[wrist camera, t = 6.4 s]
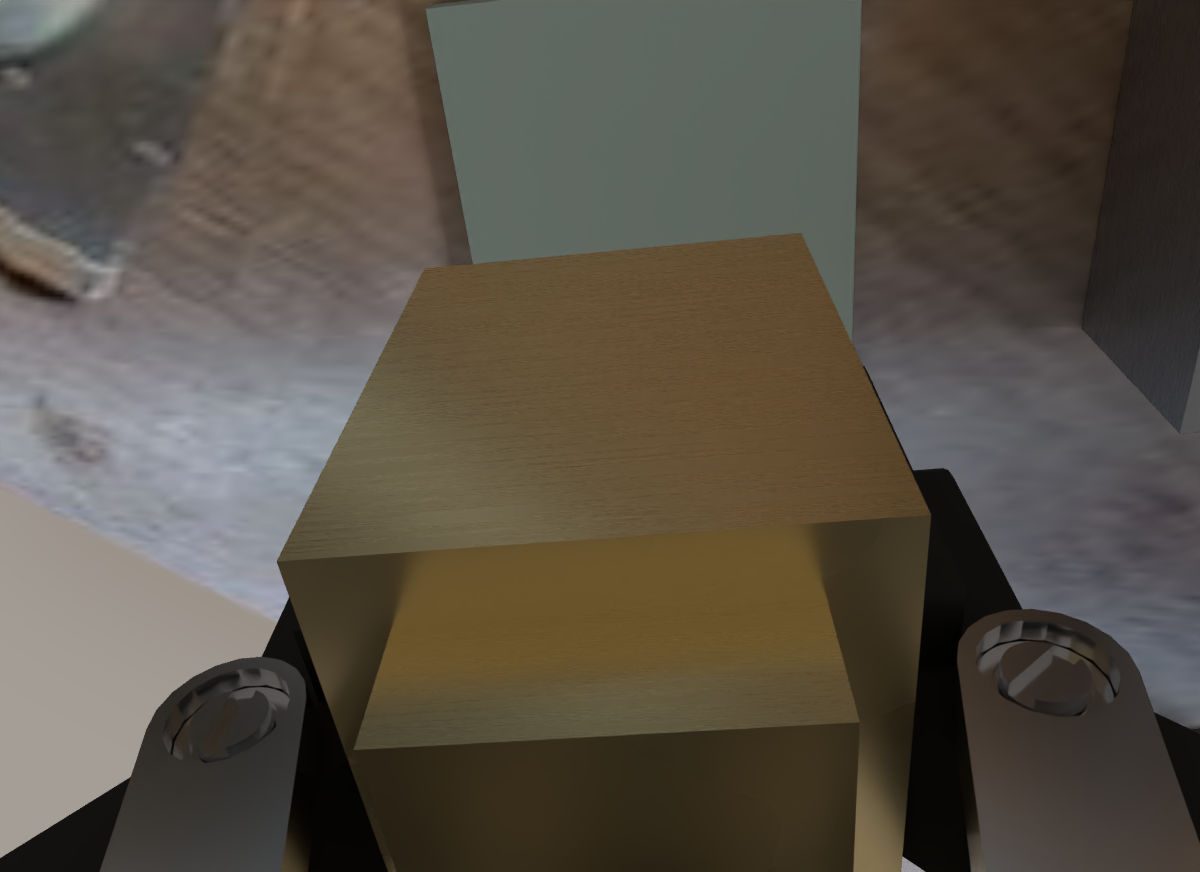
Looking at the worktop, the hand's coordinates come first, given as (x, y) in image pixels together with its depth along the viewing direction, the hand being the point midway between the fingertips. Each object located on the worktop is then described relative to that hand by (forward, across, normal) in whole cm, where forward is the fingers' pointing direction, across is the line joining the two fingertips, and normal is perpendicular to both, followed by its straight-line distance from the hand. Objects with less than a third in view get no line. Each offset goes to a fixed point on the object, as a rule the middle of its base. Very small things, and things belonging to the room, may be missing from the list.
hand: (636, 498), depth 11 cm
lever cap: (0, 0, 0) cm, 0 cm away
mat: (+8, 0, 0) cm, 8 cm away
